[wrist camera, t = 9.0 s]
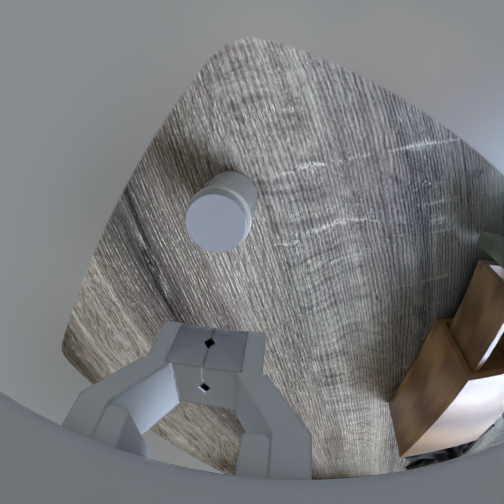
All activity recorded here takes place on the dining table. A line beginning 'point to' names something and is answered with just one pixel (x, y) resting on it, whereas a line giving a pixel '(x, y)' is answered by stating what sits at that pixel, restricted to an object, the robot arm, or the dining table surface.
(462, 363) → the cabinet
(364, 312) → the dining table surface
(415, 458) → the cloth
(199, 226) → the salt shaker
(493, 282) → the drawer
